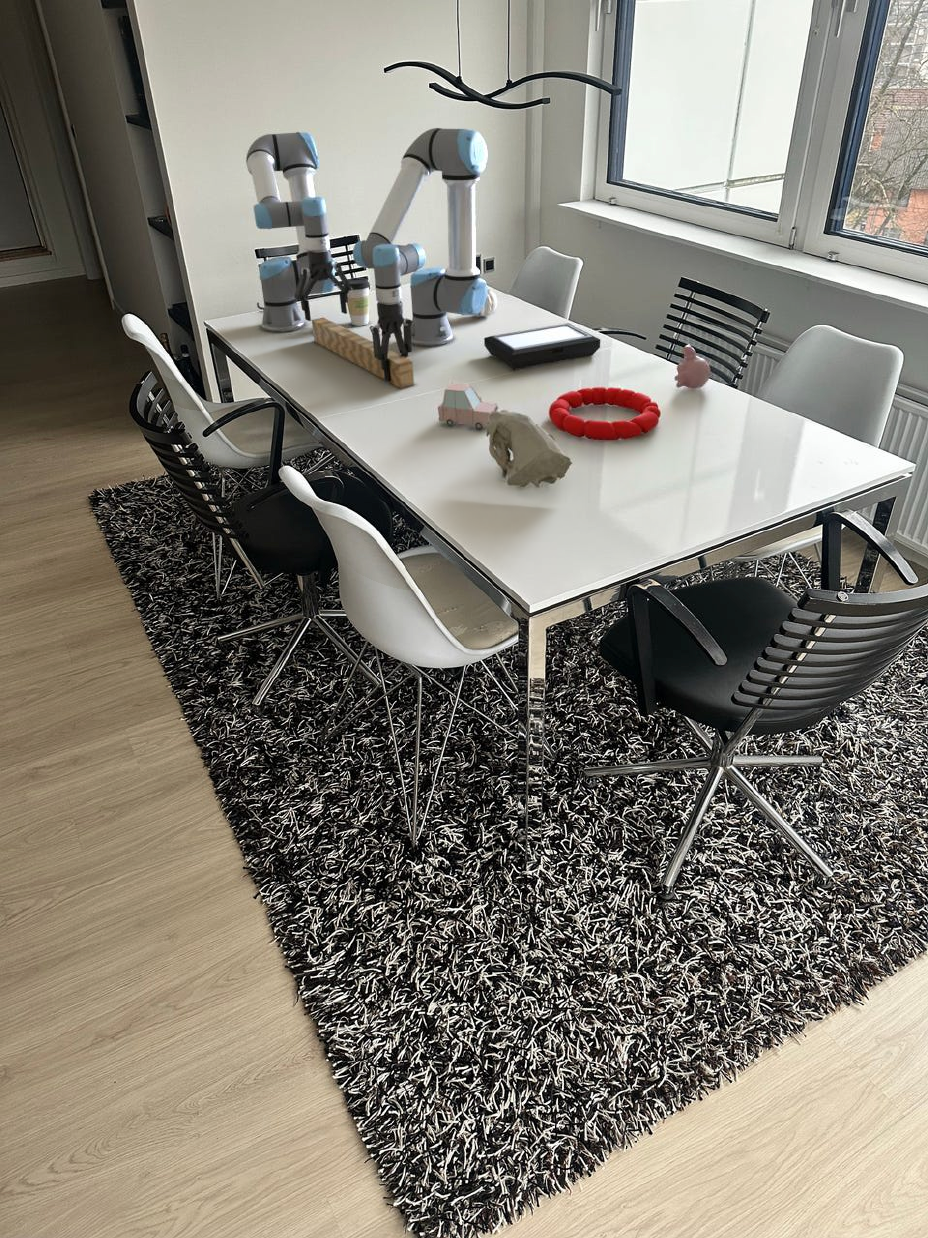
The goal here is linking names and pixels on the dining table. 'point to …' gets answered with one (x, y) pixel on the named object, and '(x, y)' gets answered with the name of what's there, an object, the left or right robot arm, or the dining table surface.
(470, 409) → the toy car
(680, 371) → the figurine
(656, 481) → the dining table surface
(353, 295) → the coffee cup
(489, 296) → the seashell
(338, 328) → the bar
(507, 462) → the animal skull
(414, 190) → the right robot arm
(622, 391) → the decorative ring
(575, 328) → the electronic device
